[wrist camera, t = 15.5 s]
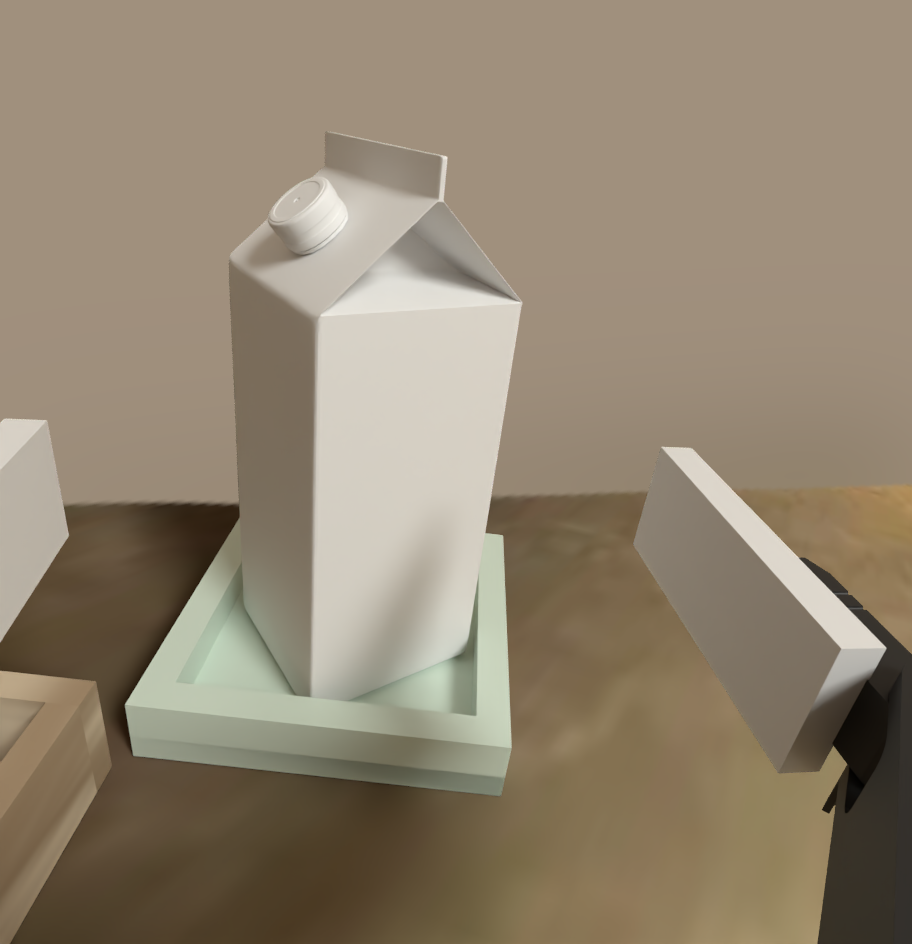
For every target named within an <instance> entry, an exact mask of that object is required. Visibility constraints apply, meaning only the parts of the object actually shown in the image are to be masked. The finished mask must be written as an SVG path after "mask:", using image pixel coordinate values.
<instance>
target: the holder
mask: <svg viewBox="0 0 912 944" xmlns="http://www.w3.org/2000/svg"><path fill="white" fill-rule="evenodd" d="M111 767H112V764H111V759H110V754H109V748H108V743H107V738H106V733H105V727H104V722H103V717H102V711H101V706H100V701H99V696H98V690H97V685H96V681H87V680H78V679H69V678H60V677H51V676H42V675H34V674H25V673H16V672H7V671H0V944H10V943H11V941H12V939H13V937H14V936H15V934H16V932H17V930H18V929H19V927H20V925H21V924H22V922H23V920H24V918H25V917H26V915H27V913H28V911H29V910H30V908H31V906H32V904H33V903H34V901H35V899H36V897H37V896H38V894H39V892H40V890H41V889H42V887H43V885H44V884H45V882H46V880H47V878H48V877H49V875H50V873H51V871H52V870H53V868H54V866H55V864H56V863H57V861H58V859H59V857H60V856H61V854H62V852H63V851H64V849H65V847H66V845H67V844H68V842H69V840H70V838H71V837H72V835H73V833H74V831H75V830H76V828H77V826H78V824H79V823H80V821H81V819H82V817H83V816H84V814H85V812H86V811H87V809H88V807H89V805H90V804H91V802H92V800H93V798H94V797H95V795H96V793H97V791H98V790H99V788H100V786H101V784H102V783H103V781H104V779H105V777H106V776H107V774H108V772H109V771H110V769H111Z"/></svg>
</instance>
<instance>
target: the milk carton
mask: <svg viewBox="0 0 912 944" xmlns="http://www.w3.org/2000/svg"><path fill="white" fill-rule="evenodd" d="M446 168H447V156H442V155H437V154H433V153H428V152H423V151H418V150H414V149H409V148H404V147H400V146H395V145H390V144H386V143H381V142H376V141H372V140H366V139H362V138H357V137H352V136H348V135H344V134H339V133H334V132H325V166H324V167H323V168H322V169H321V170H320V171H319V172H317V173H316V174H315V176H313V177H312V178H309V179H307V180H304V181H302V182H300V183H299V184H297V185H295V186H294V187H292V188H291V189H290V190H289V191H287V192H286V193H285V194H284V195H283V196H282V197H281V198H280V199H279V200H278V201H277V202H276V203H275V204H274V206H273V207H272V209H271V210H270V212H269V215H268V219H267V220H266V221H265V222H264V223H263V224H262V225H261V226H260V227H258V228H257V229H256V230H255V231H254V232H253V233H252V234H251V235H250V236H249V237H248V238H247V239H245V241H243V242H242V243H241V244H240V245H239V246H238V247H237V248H236V249H235V250H234V251H233V252H232V253H231V254H230V259H229V286H230V309H231V332H232V352H233V353H232V354H233V375H234V376H233V377H234V399H235V421H236V443H237V465H238V487H239V510H240V532H241V554H242V576H243V598H244V606H245V609H246V611H247V612H248V614H249V616H250V618H251V619H252V621H253V623H254V624H255V626H256V628H257V629H258V631H259V633H260V635H261V636H262V638H263V640H264V641H265V643H266V645H267V646H268V648H269V650H270V651H271V653H272V655H273V657H274V658H275V660H276V662H277V663H278V665H279V667H280V668H281V670H282V672H283V673H284V675H285V677H286V678H287V680H288V682H289V684H290V685H291V687H292V689H293V690H294V692H295V694H296V695H297V696H303V697H312V698H321V699H330V700H339V701H348V700H351V699H353V698H356V697H358V696H361V695H363V694H365V693H368V692H370V691H373V690H375V689H378V688H380V687H382V686H385V685H387V684H390V683H392V682H395V681H397V680H399V679H402V678H404V677H407V676H409V675H412V674H414V673H416V672H419V671H421V670H424V669H426V668H429V667H431V666H433V665H436V664H438V663H441V662H443V661H446V660H448V659H450V658H453V657H455V656H458V655H460V654H462V653H464V652H466V649H467V643H468V637H469V631H470V625H471V618H472V612H473V606H474V599H475V593H476V587H477V581H478V574H479V568H480V562H481V556H482V549H483V543H484V537H485V531H486V524H487V518H488V512H489V506H490V499H491V493H492V486H493V480H494V474H495V468H496V462H497V455H498V449H499V443H500V437H501V430H502V424H503V418H504V412H505V405H506V399H507V393H508V387H509V380H510V373H511V367H512V361H513V355H514V349H515V343H516V336H517V330H518V323H519V317H520V311H521V305H522V301H521V300H520V299H519V298H518V296H517V295H516V294H515V292H514V291H513V290H512V288H511V287H510V286H509V285H508V283H507V282H506V281H505V279H504V278H503V277H502V276H501V274H500V273H499V272H498V271H497V269H496V268H495V267H494V265H493V264H492V263H491V261H490V260H489V259H488V257H487V256H486V255H485V254H484V252H483V251H482V250H481V248H480V247H479V246H478V245H477V243H476V242H475V241H474V240H473V238H472V237H471V236H470V234H469V233H468V232H467V230H466V229H465V228H464V227H463V225H462V224H461V223H460V221H459V220H458V219H457V218H456V216H455V215H454V214H453V212H452V211H451V210H450V209H449V207H448V206H447V205H446V204H445V202H444V188H445V179H446Z"/></svg>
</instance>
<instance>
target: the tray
mask: <svg viewBox="0 0 912 944" xmlns="http://www.w3.org/2000/svg"><path fill="white" fill-rule="evenodd" d="M125 709H126V715H127V721H128V727H129V733H130V739H131V745H132V751H133V756H140V757H149V758H158V759H167V760H176V761H186V762H195V763H204V764H213V765H222V766H231V767H240V768H249V769H258V770H267V771H276V772H285V773H294V774H303V775H312V776H322V777H331V778H340V779H349V780H358V781H367V782H376V783H385V784H394V785H403V786H412V787H421V788H430V789H439V790H448V791H457V792H467V793H476V794H485V795H494V796H501V793H502V789H503V784H504V780H505V775H506V771H507V766H508V762H509V757H510V753H511V723H510V698H509V674H508V649H507V624H506V599H505V574H504V550H503V535H496V534H487V533H485V537H484V543H483V549H482V556H481V562H480V568H479V574H478V581H477V587H476V593H475V599H474V606H473V612H472V618H471V625H470V631H469V637H468V643H467V649H466V652H464V653H462V654H460V655H458V656H455V657H453V658H450V659H448V660H446V661H443V662H441V663H438V664H436V665H433V666H431V667H429V668H426V669H424V670H421V671H419V672H416V673H414V674H412V675H409V676H407V677H404V678H402V679H399V680H397V681H395V682H392V683H390V684H387V685H385V686H382V687H380V688H378V689H375V690H373V691H370V692H368V693H365V694H363V695H361V696H358V697H356V698H353V699H351V700H348V701H339V700H330V699H321V698H312V697H303V696H297V695H296V694H295V692H294V690H293V689H292V687H291V685H290V684H289V682H288V680H287V678H286V677H285V675H284V673H283V672H282V670H281V668H280V667H279V665H278V663H277V662H276V660H275V658H274V657H273V655H272V653H271V651H270V650H269V648H268V646H267V645H266V643H265V641H264V640H263V638H262V636H261V635H260V633H259V631H258V629H257V628H256V626H255V624H254V623H253V621H252V619H251V618H250V616H249V614H248V612H247V611H246V609H245V606H244V598H243V576H242V554H241V532H240V518H239V519H238V521H237V523H236V524H235V526H234V528H233V529H232V531H231V533H230V534H229V536H228V537H227V539H226V541H225V542H224V544H223V546H222V547H221V549H220V550H219V552H218V554H217V555H216V557H215V559H214V560H213V562H212V563H211V565H210V567H209V568H208V570H207V572H206V573H205V575H204V577H203V578H202V580H201V581H200V583H199V585H198V586H197V588H196V590H195V591H194V593H193V594H192V596H191V598H190V599H189V601H188V603H187V604H186V606H185V608H184V609H183V611H182V612H181V614H180V616H179V617H178V619H177V621H176V622H175V624H174V625H173V627H172V629H171V630H170V632H169V634H168V635H167V637H166V638H165V640H164V642H163V643H162V645H161V647H160V648H159V650H158V652H157V653H156V655H155V656H154V658H153V660H152V661H151V663H150V665H149V666H148V668H147V669H146V671H145V673H144V674H143V676H142V678H141V679H140V681H139V683H138V684H137V686H136V687H135V689H134V691H133V692H132V694H131V696H130V697H129V699H128V700H127V702H126V704H125Z"/></svg>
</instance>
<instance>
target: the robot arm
mask: <svg viewBox="0 0 912 944" xmlns="http://www.w3.org/2000/svg"><path fill="white" fill-rule="evenodd" d="M68 536H69V534H68V528H67V523H66V518H65V513H64V507H63V502H62V497H61V491H60V486H59V481H58V476H57V470H56V465H55V460H54V455H53V449H52V444H51V439H50V433H49V429H48V423H47V420H25V419H24V420H23V419H4V420H3V421H2V422H1V423H0V642H1V640H2V639H3V637H4V636H5V634H6V633H7V631H8V629H9V628H10V626H11V625H12V623H13V622H14V620H15V619H16V617H17V615H18V614H19V612H20V611H21V609H22V608H23V606H24V605H25V603H26V601H27V600H28V598H29V597H30V595H31V594H32V592H33V591H34V589H35V587H36V586H37V584H38V583H39V581H40V580H41V578H42V577H43V575H44V573H45V572H46V570H47V569H48V567H49V566H50V564H51V563H52V561H53V560H54V558H55V556H56V555H57V553H58V552H59V550H60V549H61V547H62V546H63V544H64V542H65V541H66V539H67V538H68ZM633 545H634V547H635V548H636V550H637V551H638V553H639V555H640V556H641V558H642V559H643V561H644V562H645V564H646V566H647V567H648V569H649V570H650V572H651V574H652V575H653V577H654V578H655V580H656V581H657V583H658V585H659V586H660V588H661V589H662V591H663V592H664V594H665V596H666V597H667V599H668V600H669V602H670V603H671V605H672V607H673V608H674V610H675V611H676V613H677V614H678V616H679V618H680V619H681V621H682V622H683V624H684V626H685V627H686V629H687V630H688V632H689V633H690V635H691V637H692V638H693V640H694V641H695V643H696V644H697V646H698V648H699V649H700V651H701V652H702V654H703V655H704V657H705V659H706V660H707V662H708V663H709V665H710V666H711V668H712V670H713V671H714V673H715V674H716V676H717V678H718V679H719V681H720V682H721V684H722V685H723V687H724V689H725V690H726V692H727V693H728V695H729V696H730V698H731V700H732V701H733V703H734V704H735V706H736V707H737V709H738V711H739V712H740V714H741V715H742V717H743V718H744V720H745V722H746V723H747V725H748V726H749V728H750V730H751V731H752V733H753V734H754V736H755V737H756V739H757V741H758V742H759V744H760V745H761V747H762V748H763V750H764V752H765V753H766V755H767V756H768V758H769V759H770V761H771V763H772V764H773V766H774V767H775V769H776V770H777V772H778V773H794V772H815V771H820V769H821V767H822V765H823V763H824V762H825V760H826V758H827V756H828V754H829V753H830V751H831V749H832V747H833V745H834V747H835V748H836V749H837V751H838V752H839V753H840V755H841V756H842V757H843V759H844V760H845V761H846V763H847V766H846V768H845V770H844V771H843V773H842V775H841V777H840V778H839V780H838V782H837V784H836V785H835V787H834V789H833V790H832V792H831V794H830V796H829V797H828V799H827V801H826V803H825V805H824V807H823V809H822V810H823V811H825V812H827V813H830V811H831V809H832V808H833V806H834V805H836V807H835V814H834V822H833V830H832V837H831V845H830V853H829V860H828V868H827V875H826V883H825V891H824V898H823V906H822V914H821V921H820V929H819V937H818V944H912V654H911V653H910V652H909V651H908V650H907V649H906V648H905V647H904V646H903V645H902V644H901V643H900V642H898V641H897V640H896V639H895V638H894V637H893V636H892V635H891V634H890V633H889V632H888V631H887V630H886V629H885V628H884V627H883V626H882V625H881V624H880V623H879V622H878V621H877V620H876V619H875V618H874V617H873V616H872V615H871V614H870V613H869V612H868V611H867V610H863V606H862V605H861V604H860V603H859V602H858V601H857V600H856V599H855V598H854V597H853V596H852V595H848V591H847V590H846V589H845V588H844V587H843V586H842V585H841V584H840V583H839V582H838V581H837V580H836V579H835V578H834V577H833V576H832V575H831V574H830V573H828V572H827V571H825V570H823V569H822V568H820V567H819V566H817V565H816V564H814V563H812V562H811V561H809V560H808V559H806V558H798V557H797V556H796V555H795V554H794V553H793V552H792V551H791V550H790V549H789V548H788V547H787V546H786V545H785V543H784V542H783V541H782V540H781V539H780V538H779V537H778V536H777V535H776V534H775V533H774V532H773V531H772V530H771V529H770V528H769V527H768V526H767V525H766V524H765V523H764V522H763V521H762V520H761V519H760V518H759V517H758V516H757V515H756V514H755V513H754V512H753V511H752V510H751V509H750V508H749V507H748V506H747V505H746V504H745V503H744V501H743V500H742V499H741V498H740V497H739V496H738V495H737V494H736V493H735V492H734V491H733V490H732V489H731V488H730V487H729V486H728V485H727V484H726V483H725V482H724V481H723V480H722V479H721V478H720V477H719V476H718V475H717V474H716V473H715V472H714V471H713V470H712V469H711V468H710V467H709V466H708V465H707V464H706V463H705V462H704V461H703V460H702V459H701V457H700V456H698V454H697V453H696V452H695V451H694V450H693V449H692V448H676V447H661V449H660V452H659V456H658V460H657V463H656V466H655V470H654V473H653V477H652V481H651V484H650V487H649V491H648V494H647V498H646V501H645V505H644V508H643V512H642V515H641V519H640V522H639V526H638V529H637V533H636V536H635V540H634V543H633Z"/></svg>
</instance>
